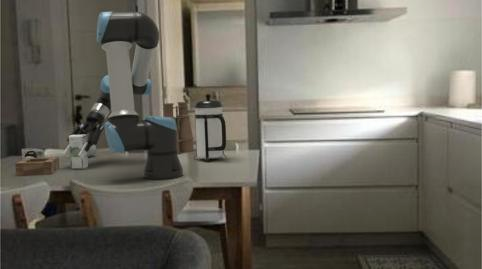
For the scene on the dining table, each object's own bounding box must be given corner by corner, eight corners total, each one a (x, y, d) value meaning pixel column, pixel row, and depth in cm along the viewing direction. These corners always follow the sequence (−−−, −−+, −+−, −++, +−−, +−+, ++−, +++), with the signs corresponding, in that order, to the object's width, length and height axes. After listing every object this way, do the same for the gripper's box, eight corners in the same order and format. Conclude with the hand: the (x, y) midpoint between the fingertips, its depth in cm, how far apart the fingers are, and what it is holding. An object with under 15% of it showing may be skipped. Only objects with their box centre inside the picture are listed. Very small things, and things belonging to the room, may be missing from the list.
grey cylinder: (98, 156, 267) (97, 140, 266) (85, 158, 260) (84, 142, 259) (83, 155, 273) (82, 140, 272) (70, 157, 266) (69, 142, 265)
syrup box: (88, 166, 237) (86, 133, 235) (83, 169, 231) (81, 135, 229) (76, 166, 237) (73, 134, 235) (70, 169, 231) (68, 135, 230)
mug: (25, 164, 247) (24, 150, 247) (20, 163, 253) (19, 149, 252) (47, 162, 254) (46, 148, 253) (42, 160, 259) (41, 146, 258)
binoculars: (171, 155, 261) (169, 104, 258) (156, 154, 266) (153, 104, 263) (198, 150, 277) (196, 101, 275) (183, 149, 283) (181, 101, 280)
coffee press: (188, 162, 239) (185, 94, 236) (199, 157, 255) (197, 93, 251) (226, 163, 235) (224, 94, 232) (235, 157, 250) (233, 92, 247)
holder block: (51, 174, 221) (50, 162, 221) (16, 175, 220) (15, 163, 219) (59, 168, 235) (58, 156, 234) (26, 169, 234) (25, 158, 233)
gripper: (119, 121, 240) (96, 162, 228) (84, 120, 250) (60, 160, 238) (110, 110, 235) (86, 152, 223) (75, 109, 245) (50, 149, 233)
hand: (73, 156), depth 230 cm, fingers open, 8 cm apart
